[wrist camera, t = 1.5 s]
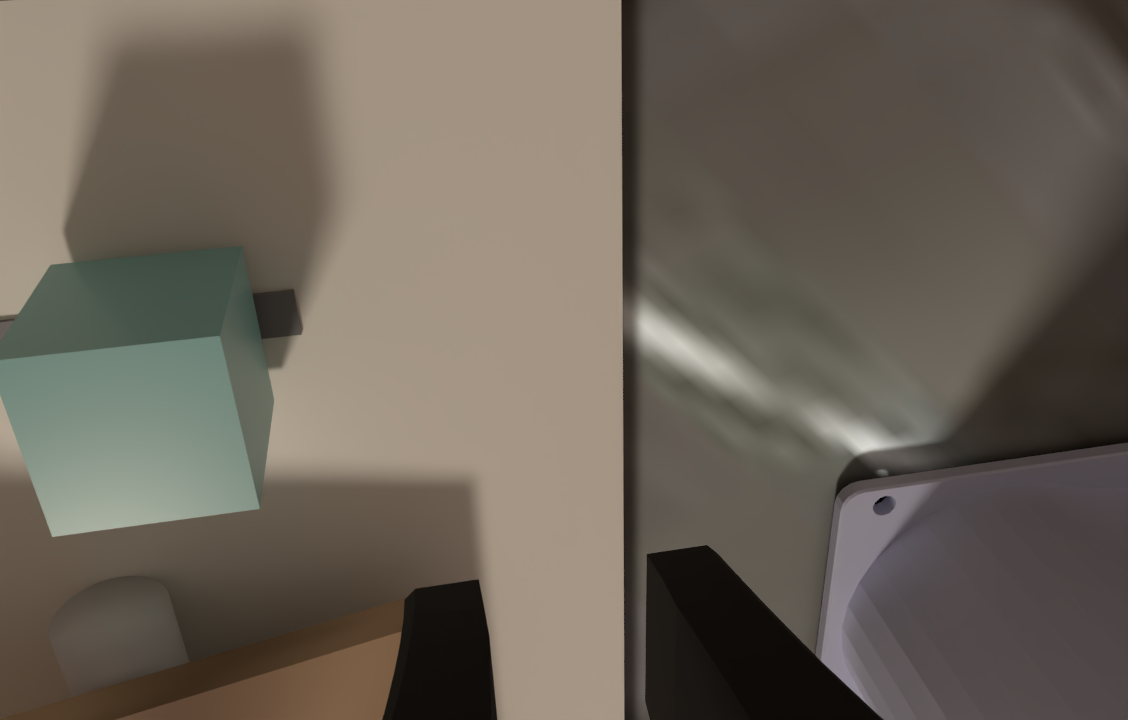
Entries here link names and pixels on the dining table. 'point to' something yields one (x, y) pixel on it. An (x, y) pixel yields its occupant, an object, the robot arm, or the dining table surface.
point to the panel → (341, 322)
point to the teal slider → (140, 390)
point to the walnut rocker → (262, 679)
